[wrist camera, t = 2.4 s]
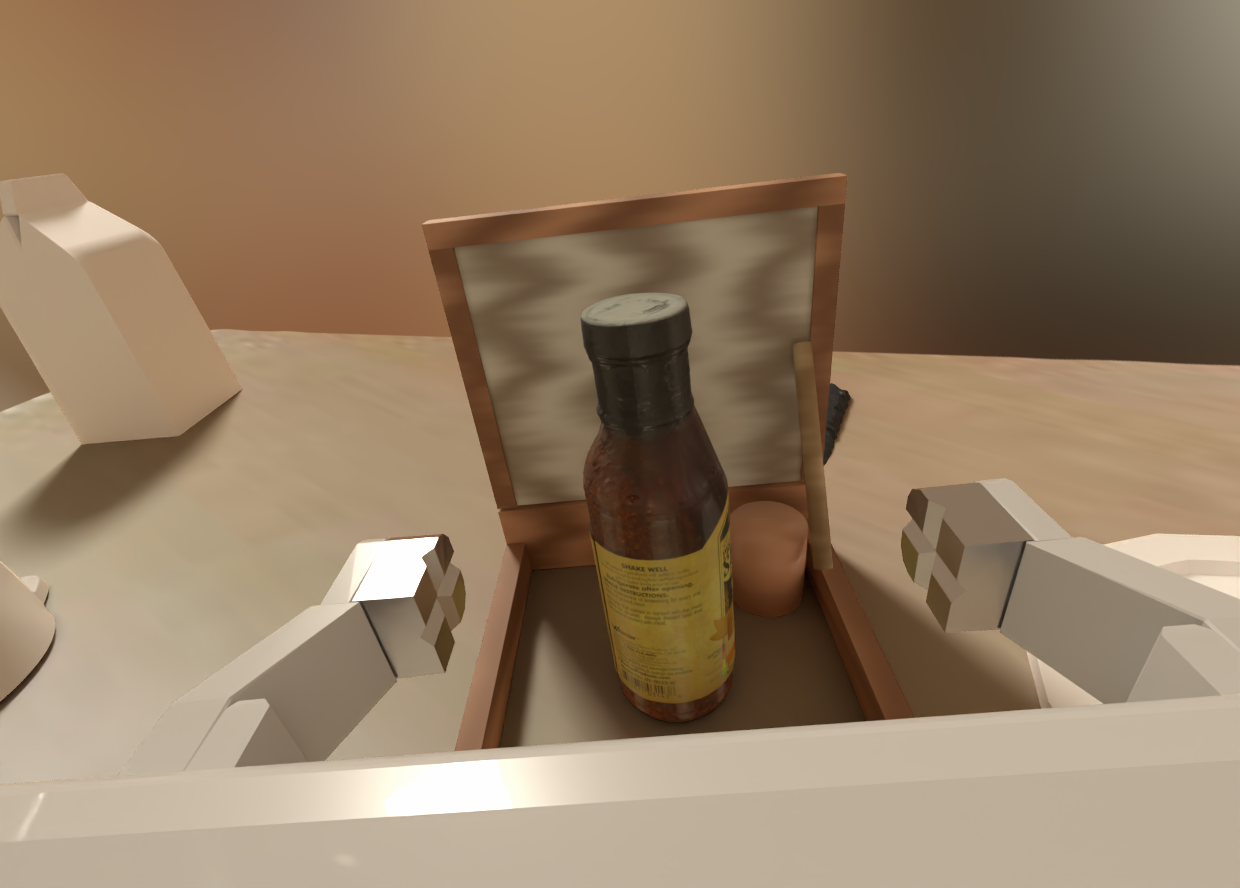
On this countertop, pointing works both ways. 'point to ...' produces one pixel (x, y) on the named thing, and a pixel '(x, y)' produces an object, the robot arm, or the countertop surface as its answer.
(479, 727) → the cedar box
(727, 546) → the sauce bottle
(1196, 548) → the dish
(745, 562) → the brown rounded block
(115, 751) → the countertop surface
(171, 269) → the milk
